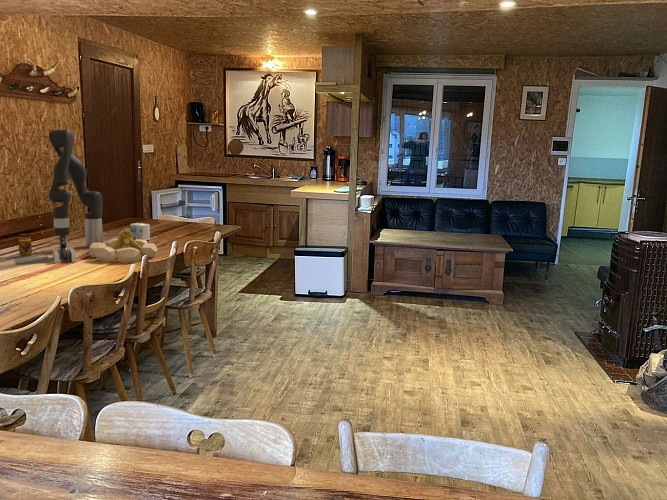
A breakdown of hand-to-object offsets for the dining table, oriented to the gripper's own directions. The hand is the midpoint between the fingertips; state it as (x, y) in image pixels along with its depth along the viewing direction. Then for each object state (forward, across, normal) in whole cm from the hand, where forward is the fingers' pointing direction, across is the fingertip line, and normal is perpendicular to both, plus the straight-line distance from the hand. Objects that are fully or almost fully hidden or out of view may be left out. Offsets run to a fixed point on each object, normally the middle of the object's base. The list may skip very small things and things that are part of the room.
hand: (63, 257), depth 296 cm
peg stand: (0, -10, 0) cm, 10 cm away
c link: (0, -6, 0) cm, 6 cm away
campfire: (+1, -7, -30) cm, 31 cm away
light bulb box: (0, +38, -48) cm, 61 cm away
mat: (0, -3, +15) cm, 15 cm away
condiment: (0, +11, +18) cm, 21 cm away
